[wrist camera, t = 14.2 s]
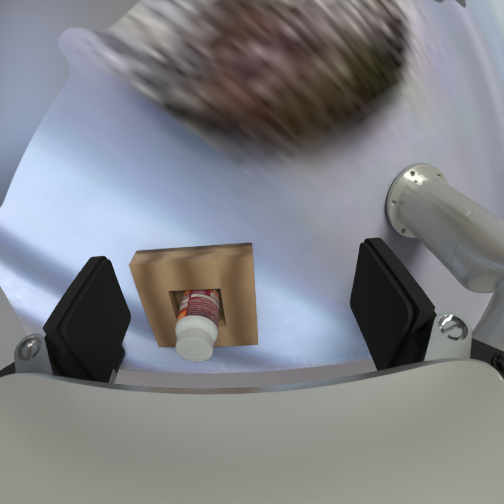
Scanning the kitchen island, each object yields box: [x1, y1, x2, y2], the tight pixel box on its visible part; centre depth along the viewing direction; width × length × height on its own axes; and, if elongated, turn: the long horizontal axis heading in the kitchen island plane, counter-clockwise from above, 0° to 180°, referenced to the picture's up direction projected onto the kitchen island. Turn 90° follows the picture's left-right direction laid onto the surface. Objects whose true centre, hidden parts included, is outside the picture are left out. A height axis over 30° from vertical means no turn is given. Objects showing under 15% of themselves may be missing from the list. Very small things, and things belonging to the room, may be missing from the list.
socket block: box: [129, 243, 258, 347], centre depth 44 cm, size 18×18×4 cm
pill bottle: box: [175, 289, 220, 362], centre depth 40 cm, size 6×6×11 cm
